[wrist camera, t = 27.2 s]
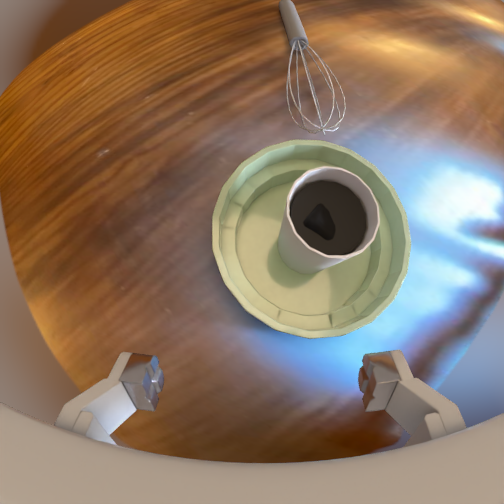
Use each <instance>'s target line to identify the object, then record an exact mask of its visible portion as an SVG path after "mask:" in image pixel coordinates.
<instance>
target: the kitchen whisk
mask: <svg viewBox="0 0 504 504" xmlns="http://www.w3.org/2000/svg"><path fill="white" fill-rule="evenodd" d="M279 9H280V13H281V16H282V19H283V22H284V26H285V29H286V33H287V36H288V40H289V43H290V46H291V48H292V51H291V55H290V60H289V68H288V75H287V87H286V89H287V103H288V108H289V102H288V76H289V86H290V91H291V95H292V90H291V85H290V63H291V58H292V54H293V50H296V69H297V50H300V52H301V51H302V50H304V49H306V48H307V46H308V44H309V43H308V39H307V37H306V34H305V31H304V29H303V26H302V24H301V21H300V19H299V16H298V14H297V11H296V9H295V6H294V4H293V2H291V1H290V0H281V1H280V2H279ZM308 47H309V46H308ZM309 48H310V47H309ZM310 49H311V48H310ZM306 50H307V49H306ZM311 50H312V49H311ZM312 51H313V52H314V54H315V55H316V56H317V57H318V59H319V60H320V59H321V58H320V57H319V56H318V54H317V53H316V52H315V51H314V50H312ZM307 52H308V53H309V51H308V50H307ZM302 54H303V51H302V52H301V56H302V59H303V57H304V54H303V55H302ZM309 54H310V53H309ZM310 56H311V54H310ZM311 57H312V56H311ZM312 59H313V57H312ZM304 60H305V57H304V59H303V63H304V67H305V70H306V74H307V77H308V73H309V70H308V67H307V64H306V61H305V62H304ZM313 60H314V59H313ZM321 60H322V59H321ZM321 60H320V62H321V63H322V61H323V60H322V61H321ZM314 62H315V60H314ZM315 63H316V62H315ZM323 63H324V64H325V62H324V61H323ZM323 63H322V65H323V66H324V64H323ZM305 64H306V66H305ZM316 65H317V63H316ZM325 65H326V64H325ZM326 66H327V65H326ZM306 67H307V69H306ZM317 67H318V68H319V66H318V65H317ZM327 67H328V66H327ZM324 68H325V66H324ZM328 69H329V67H328ZM307 70H308V73H307ZM319 70H320V68H319ZM325 70H326V68H325ZM329 70H330V69H329ZM320 72H321V73H322V71H321V70H320ZM326 72H327V70H326ZM330 72H331V73H332V71H331V70H330ZM327 74H328V72H327ZM322 75H323V73H322ZM332 75H333V76H334V74H333V73H332ZM309 77H310V73H309ZM309 77H308V81H309V85H310V88H311V92H312V95H313V99H314V102H315V106H316V110H317V113H318V116H319V120H320V123H321V126H322V128H320V127H318V126H316V125H314V124H312V123H311V122H310V121H309V120H308V119H307V118H306V117H305V116H304V115H303V114H302V112H301V108H300V100H299V89H298V70H297V90H298V100H299V108H300V110H299V108H298V107H297V105H296V103H295V100H294V97H293V95H292V98H293V101H294V103H295V106H296V107H297V109H298V110H299V112H300V113H301V118H302V121H303V123H304V120H303V117H304V118H305V119H306V120H307V121H308V122H309V123H310V124H312V125H314V126H316V127H318V128H320V130H309V129H307V127H306V126H305V123H304V126H305V128H304V127H301V126H300V125H299V124H298V123H297V122H296V121H295V120H294V118H293V116H292V113H291V111H290V108H289V112H290V114H291V116H292V119H293V120H294V121H295V123H296V124H297V125H298V126H299V127H301V128H303V129H306V130H308V132H309V133H314V134H316V133H317V132H319V131H323V132H324V135H325V130H327V131H335V130H336V129H338V128H339V125H340V121H341V120H342V119H343V117H344V113H345V109H346V107H345V98H344V95H343V92H342V89H341V87H340V85H339V83H338V81H337V79H336V77H335V76H334V78H335V80H336V81H337V83H338V85H339V87H340V90H341V92H342V95H343V99H344V112H343V116H342V118H341V119H340V113H339V109H338V106H337V102H336V100H335V97H334V91H333V85H332V82H331V79H330V77H329V74H328V77H329V80H330V83H331V87H332V90H331V88H330V86H329V84H328V82H327V80H326V78H325V77H324V75H323V77H324V79H325V80H326V82H327V84H328V86H329V88H330V90H331V93H332V95H333V108H332V111H331V114H330V117H329V119H328V120H327V122H326V123H325V125H326V124H327V123H328V121H329V120H330V118H331V115H332V112H333V109H334V100H335V103H336V106H337V109H338V114H339V121H338V122H337V123H336V124H335V125H333V126H331V127H328V128H326V129H324V127H325V125H324V124H323V120H322V116H321V112H320V108H319V105H318V101H317V97H316V94H315V90H314V87H313V83H312V80H311V77H310V80H311V83H312V87H313V90H314V94H315V97H316V101H317V105H318V108H317V105H316V101H315V98H314V94H313V91H312V87H311V84H310V80H309ZM318 109H319V112H320V115H319V112H318ZM302 116H303V117H302ZM320 116H321V119H320ZM321 121H322V122H321ZM338 123H339V124H338ZM337 124H338V127H337V128H336V129H334V130H328V129H329V128H332V127H334V126H336V125H337ZM310 131H317V132H310Z"/></svg>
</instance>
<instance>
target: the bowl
mask: <svg viewBox="0 0 504 504" xmlns="http://www.w3.org/2000/svg"><path fill="white" fill-rule="evenodd" d="M322 166H330V167H339V168H343V169H345V170H347V171H349V172H351V173H353V174H355V175H357V176H359V177H360V178H361V179H362V180H363V182H364V183H365V184H366V185H367V186H368V187H369V188H370V189H371V190H372V193H373V195H374V197H375V199H376V201H377V203H378V205H379V217H380V224H379V228H378V231H377V234H376V237H375V240H374V241H373V242H372V243H371V244H370V245H369V246H368V247H367V248H366V249H365V250H364V251H363V252H362V253H360V254H358V255H355V256H353V257H351V258H349V259H346V260H344V261H342V262H340V263H337V264H335V265H333V266H331V267H328V268H326V269H324V270H322V271H319V272H316V273H314V274H300V273H298V272H296V271H294V270H292V269H290V268H289V267H288V266H287V265H286V264H285V263H284V262H283V260H282V259H281V256H280V253H279V251H278V237H279V232H280V228H281V223H282V219H283V214H284V209H285V205H286V200H287V196H288V194H289V192H290V190H291V188H292V186H293V184H294V182H295V180H297V179H298V178H299V177H300V176H301V175H303V174H304V173H305V172H306V171H308V170H311V169H315V168H318V167H322ZM410 249H411V239H410V232H409V226H408V220H407V215H406V212H405V210H404V208H403V206H402V204H401V202H400V199H399V197H398V195H397V193H396V191H395V189H394V188H393V186H392V185H391V184H390V183H389V181H388V180H387V179H386V178H385V177H384V176H383V175H382V173H381V172H380V171H379V170H378V169H377V168H376V167H375V166H374V165H373V164H372V163H370V162H369V161H367V160H366V159H364V158H363V157H361V156H360V155H358V154H356V153H355V152H353V151H352V150H350V149H347V148H344V147H341V146H338V145H335V144H332V143H329V142H326V141H322V140H290V141H286V142H283V143H279V144H275V145H272V146H268V147H265V148H264V149H262V150H260V151H259V152H257V153H256V154H254V155H253V156H251V157H250V158H248V159H246V160H245V161H243V162H242V163H241V164H240V165H239V166H238V168H237V169H236V170H235V171H234V173H233V174H232V175H231V176H230V178H229V179H228V180H227V181H226V183H225V184H224V185H223V187H222V189H221V192H220V195H219V198H218V200H217V203H216V206H215V209H214V212H213V215H212V251H213V253H214V256H215V259H216V262H217V265H218V268H219V271H220V274H221V277H222V279H223V282H224V284H225V285H226V287H227V288H228V289H229V291H230V292H231V293H232V295H233V296H234V297H235V298H236V300H237V301H238V302H239V304H240V305H241V306H242V307H243V309H244V310H245V311H246V312H247V313H249V314H250V315H252V316H253V317H255V318H256V319H258V320H259V321H261V322H262V323H264V324H265V325H267V326H268V327H270V328H272V329H274V330H277V331H280V332H284V333H288V334H292V335H296V336H300V337H304V338H308V339H309V338H310V339H313V338H325V337H335V336H343V335H346V334H348V333H350V332H352V331H354V330H356V329H359V328H361V327H363V326H365V325H367V324H369V323H371V322H372V321H374V320H375V319H376V318H377V317H378V316H379V315H380V314H381V313H382V312H383V311H384V310H385V309H386V308H387V307H388V306H389V305H390V304H391V303H392V302H393V300H394V299H395V297H396V295H397V293H398V291H399V289H400V287H401V285H402V283H403V281H404V279H405V276H406V274H407V270H408V264H409V257H410Z"/></svg>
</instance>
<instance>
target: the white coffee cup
mask: <svg viewBox="0 0 504 504" xmlns="http://www.w3.org/2000/svg"><path fill="white" fill-rule="evenodd" d="M379 224H380V217H379V205H378V203H377V201H376V199H375V197H374V195H373V193H372V190H371V189H370V188H369V187H368V186H367V185H366V184H365V183H364V182H363V180H362V179H361V178H360V177H359V176H357V175H355V174H353V173H351V172H349V171H347V170H345V169H343V168H339V167H330V166H322V167H318V168H315V169H311V170H308V171H306V172H305V173H304V174H303V175H301V176H300V177H299V178H298V179H297V180H295V182H294V184H293V186H292V188H291V190H290V192H289V194H288V196H287V200H286V205H285V209H284V214H283V219H282V223H281V228H280V232H279V237H278V251H279V253H280V256H281V259H282V260H283V262H284V263H285V264H286V265H287V266H288V267H289V268H290V269H292V270H294V271H296V272H298V273H300V274H314V273H316V272H319V271H322V270H324V269H326V268H328V267H331V266H333V265H335V264H337V263H340V262H342V261H344V260H346V259H349V258H351V257H353V256H355V255H358V254H360V253H362V252H363V251H364V250H365V249H366V248H367V247H368V246H369V245H370V244H371V243H372V242H373V241H374V240H375V237H376V234H377V231H378V228H379Z"/></svg>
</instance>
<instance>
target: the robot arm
mask: <svg viewBox="0 0 504 504" xmlns="http://www.w3.org/2000/svg"><path fill="white" fill-rule="evenodd" d="M362 362H363V366H362V367H361V368H360V371H359V377H358V382H359V388H360V391H362V392H363V393H364V396H363V398H362V400H363V403H364V407H365V411H366V412H368V411H376V410H383V409H385V411H386V412H387V413H388V414H389V415H390V416H391V417H392V418H393V419H394V420H395V421H396V422H397V423H398V424H400V425H401V426H402V427H403V428H404V429H405V430H406V431H407V432H408V433H409V434H410V435H411V438H410V439H409V440H408V442H407V443H406V444H405V446H404V447H403V448H399V449H395V450H390V451H385V452H380V453H374V454H369V455H363V456H356V457H350V458H342V459H334V460H324V461H313V462H297V463H234V462H218V461H206V460H197V459H188V458H180V457H174V456H167V455H161V454H155V453H150V452H145V451H140V450H135V449H131V448H126V447H122V446H118V445H116V443H115V442H114V440H113V439H112V438H111V437H110V436H109V435H110V434H111V433H112V432H113V431H114V430H115V429H116V428H118V427H119V426H120V425H121V424H122V423H123V422H124V421H125V420H126V419H127V418H128V417H130V416H131V415H132V414H133V413H134V412H135V411H136V409H141V410H148V411H155V410H156V407H157V404H158V401H159V398H158V395H157V394H158V393H160V392H161V391H162V388H163V385H164V375H163V371H162V369H161V368H159V367H158V364H159V361H158V358H157V356H153V355H145V354H137V353H128V352H122V353H121V354H120V355H119V357H118V359H117V361H116V363H115V365H114V367H113V368H112V370H111V372H110V374H109V376H108V378H107V379H103V380H101V381H100V382H98V383H97V384H95V385H94V386H92V387H91V388H89V389H88V390H86V391H84V392H83V393H81V394H80V395H78V396H77V397H75V398H74V399H72V400H70V401H69V402H68V403H66V404H65V405H64V407H63V409H62V410H61V413H60V414H59V416H58V418H57V420H56V422H55V424H54V425H52V424H49V423H46V422H44V421H41V420H39V419H37V418H34V417H32V416H30V415H27V414H25V413H23V412H21V411H19V410H16V409H14V408H12V407H10V406H8V405H6V404H4V403H2V402H0V504H504V413H503V414H500V415H498V416H496V417H493V418H491V419H489V420H487V421H484V422H482V423H480V424H477V425H474V426H472V427H469V428H467V427H466V425H465V423H464V421H463V418H462V416H461V414H460V411H459V409H458V407H457V405H456V404H454V403H453V402H451V401H450V400H448V399H447V398H445V397H444V396H443V395H441V394H440V393H438V392H437V391H435V390H434V389H432V388H431V387H429V386H428V385H427V384H425V383H424V382H422V381H421V380H419V379H418V378H413V375H412V373H411V371H410V369H409V366H408V364H407V362H406V360H405V357H404V355H403V353H402V351H401V350H394V351H386V352H378V353H370V354H365V355H364V356H363V360H362Z"/></svg>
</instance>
